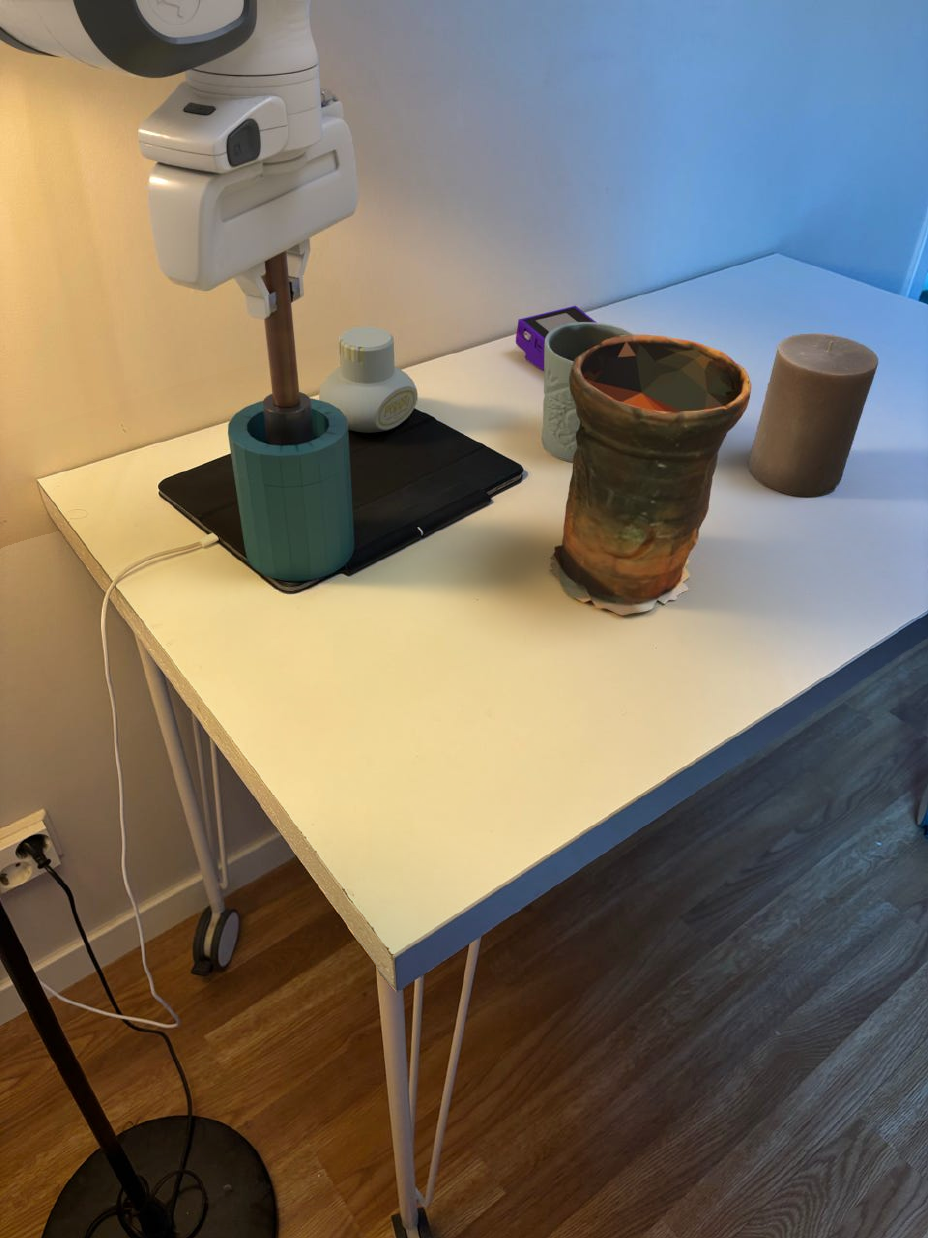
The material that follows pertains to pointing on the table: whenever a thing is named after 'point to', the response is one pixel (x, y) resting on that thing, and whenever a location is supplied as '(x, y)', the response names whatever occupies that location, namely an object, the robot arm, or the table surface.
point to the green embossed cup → (566, 382)
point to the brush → (284, 366)
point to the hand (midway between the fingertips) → (276, 306)
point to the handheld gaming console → (544, 331)
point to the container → (294, 495)
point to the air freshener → (369, 382)
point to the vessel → (643, 466)
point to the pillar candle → (811, 413)
